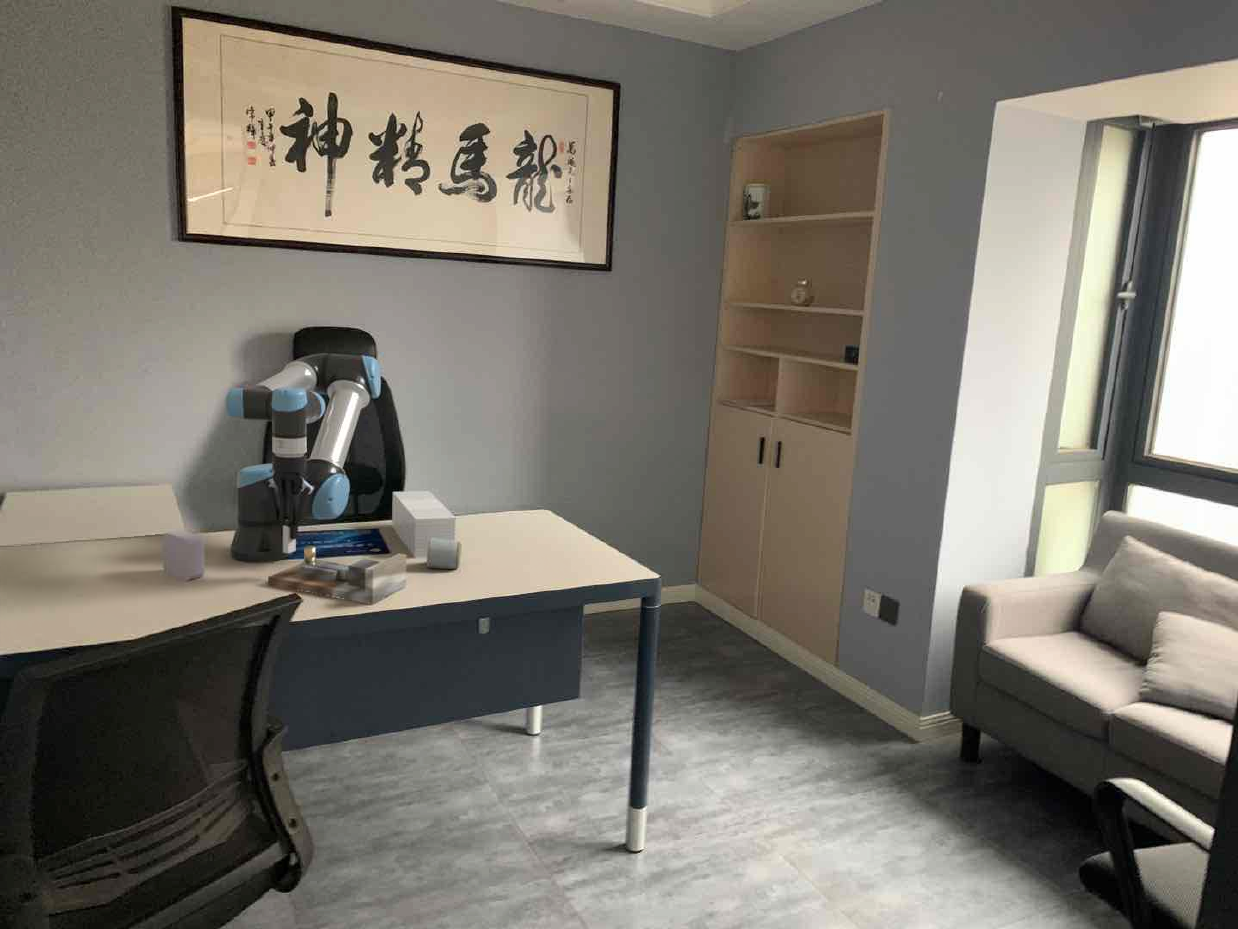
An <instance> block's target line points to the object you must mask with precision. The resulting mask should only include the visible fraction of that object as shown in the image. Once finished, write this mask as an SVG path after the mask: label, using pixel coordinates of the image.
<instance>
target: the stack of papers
mask: <svg viewBox="0 0 1238 929" xmlns="http://www.w3.org/2000/svg"><path fill="white" fill-rule="evenodd" d="M391 507H392V508H391V510H392V515H391V519H392V520H391V521H392V522H391V528H392V529H393V530H394V532H395V533H396V534H397V535H398V537H399V538H400V540H401V541H402V542H403V544H404V545H405V547H406V546H407V547H406V548H407V549H408V550H409V552H410V553H411V555H412V557H415V558H414V559H417V557H420V558H427V554H428V545H429V541H430V538H438V539H445V540H455V541H456V522H457V520H456V519H457V517H456V516H454V514H453V513H452V512H451V511H450V510H449V509H448V508H447V507H446V506H445V505H444V504H442V502H441V501H439V500H438V499H437V497H436V496H435V495H434V494H433V493H432V492H431V491H430V490H414V491H411V490H409V491H392V506H391Z"/></svg>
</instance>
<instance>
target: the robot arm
mask: <svg viewBox="0 0 1238 929" xmlns="http://www.w3.org/2000/svg"><path fill="white" fill-rule="evenodd" d="M381 385H382V380H381V371H380V364H379V362H378V361H377V359H376V358H375V357H373V356H367V355H363V354H362V355H349V354H338V353H328V352H327V353H323V352H322V353H315V354H310V355H306V356H303V357H299V358H298V359H295V360H293V361H291V362H289V363H287V364H286V365H285V366H284V367H283V369H282V371H280V372H278V373H276V374H275V375H272V376H270V377H268V378H267V379H265V380H262V381H261V382H259V383H257V384H255V385H254V386H252V387H250V388H243V387H240V388H239V387H235V388H231V389H230V390H228V392H227V393H226V396H225V399H224V400H225V402H224V403H225V404H224V405H225V411H226V414H227V415H228V417H230V418H231V419H233V420H234V419H236V420H242V421H259V422H260V421H261V422H271V423H272V425H271V426H272V433H271V434H272V439H271V440H272V442H271V443H272V449H271V450H272V451H271V452H272V453H273V456H271V460H272V461H271V463H263V464H262V463H261V464H257V465H250V466H247V467H244V468H242V469H240V470H239V471H238V473H237V479H236V486H235V488H236V509H237V510H236V512H237V516H236V517H237V524H236V529H235V532H234V535H233V538H232V541H231V542H232V543H231V544H230V557H231V558H233V559H234V560H238V561H241V562H248V563H263V562H264V563H266V562H267V563H269V562H275V561H281V560H283V559H287V558H289V557H291V556H292V555H294V552H296V551H297V547H296V545H297V540H296V539H298V538H299V526H300V525H302V524H304V523H306V522H307V519H314V520H315V519H316V520H319V521H321V520H333V519H334V520H335V519H336V518H339V517H340V515H342V513H343V512H344V511H345V509H346V507H347V504H348V500H349V494H350V489H351V488H350V487H351V486H350V480H349V478H348V477H347V475H346V472H345V470H344V469H343V468H344V464H345V461H346V458H347V456H348V451H349V448H350V446H351V442H352V439H353V436H354V432H355V430H356V426H357V423H358V420H359V417H360V415H361V414H360V413H361V411H362V409H365V407H367V406H368V405H369V403H370V400H371V398H372V399H377V398H379V397H380V395H381V389H382V388H381ZM321 395H328V397H329V401H328V405H327V408H326V402H325V399H324V398H323V397H322V396H321ZM323 416H324V417H323ZM321 417H323V419H322V422H321V425H320V428H319V430H318V434H317V436H316V440H315V442H314V445H313V448H312V450H311V451H312V452H311V454H310V457H309V458H308V459H307V456H306V453H307V451H308V450H307V444H308V443H307V424H312V423H314V422H317V421H318V420H319V419H320V418H321Z"/></svg>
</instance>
